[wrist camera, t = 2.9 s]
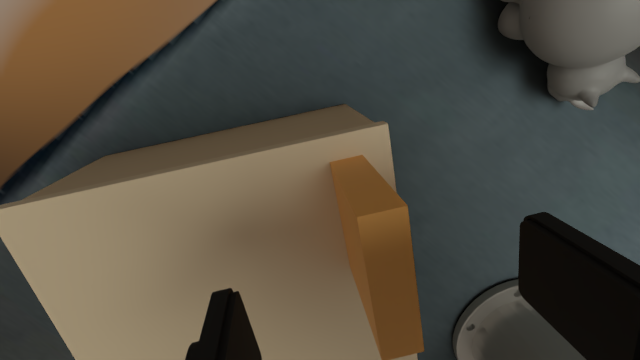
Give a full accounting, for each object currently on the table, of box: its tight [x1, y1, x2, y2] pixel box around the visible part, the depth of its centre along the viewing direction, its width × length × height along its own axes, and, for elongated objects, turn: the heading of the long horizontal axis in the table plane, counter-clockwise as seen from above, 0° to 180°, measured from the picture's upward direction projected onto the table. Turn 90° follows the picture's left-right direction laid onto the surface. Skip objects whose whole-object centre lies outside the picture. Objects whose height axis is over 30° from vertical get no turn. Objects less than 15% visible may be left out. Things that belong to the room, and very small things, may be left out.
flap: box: [0, 121, 424, 360], centre depth 15 cm, size 16×18×7 cm
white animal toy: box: [498, 0, 640, 110], centre depth 22 cm, size 7×12×8 cm, turn 31°
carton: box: [23, 104, 374, 200], centre depth 23 cm, size 16×18×9 cm
